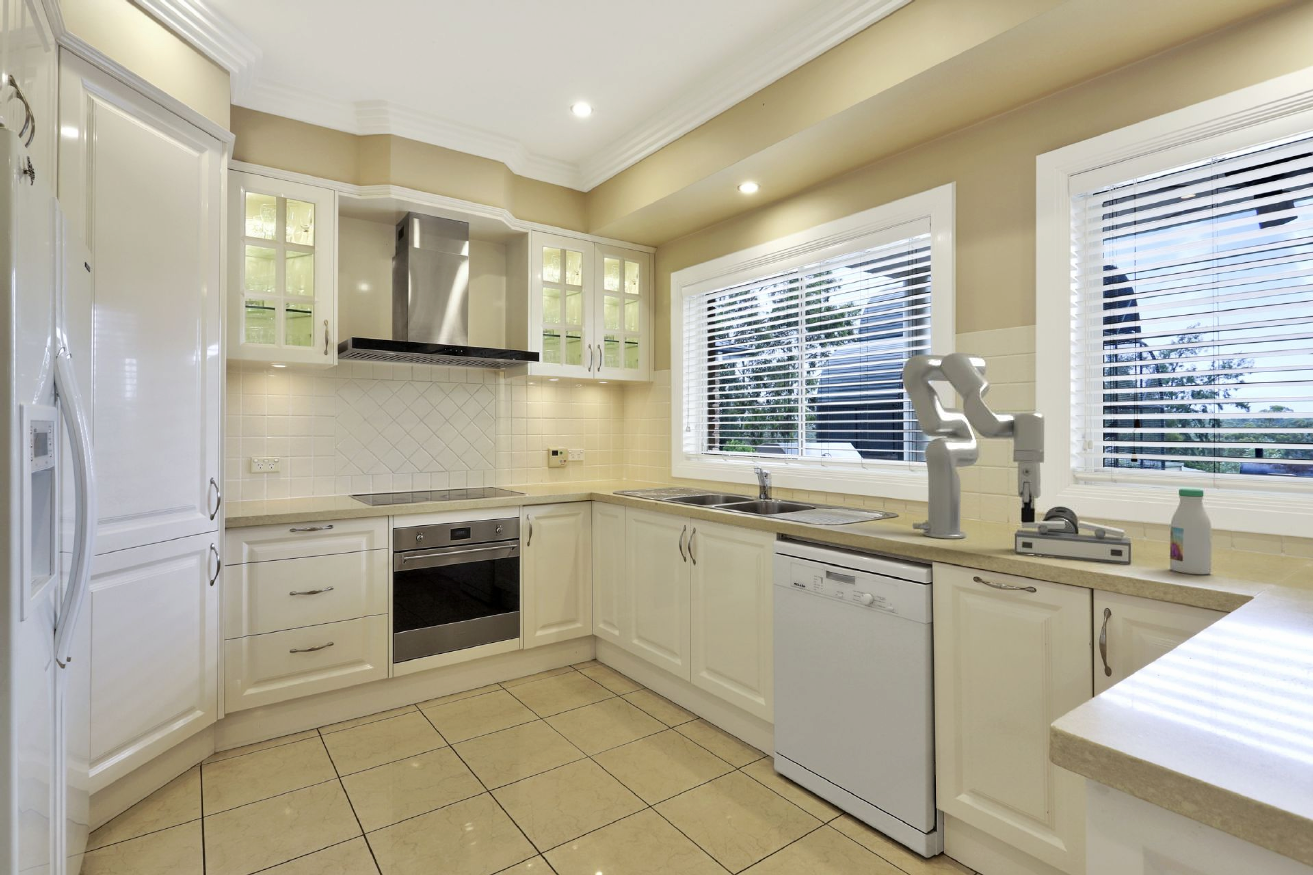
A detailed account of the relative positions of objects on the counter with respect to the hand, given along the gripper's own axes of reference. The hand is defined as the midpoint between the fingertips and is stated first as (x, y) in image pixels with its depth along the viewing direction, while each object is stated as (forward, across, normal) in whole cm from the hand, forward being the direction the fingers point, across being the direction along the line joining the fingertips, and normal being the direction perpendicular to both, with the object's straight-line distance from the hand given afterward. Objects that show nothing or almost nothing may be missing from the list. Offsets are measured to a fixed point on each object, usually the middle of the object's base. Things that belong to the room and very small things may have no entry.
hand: (1027, 522), depth 183 cm
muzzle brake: (+9, +19, -7) cm, 22 cm away
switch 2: (+2, 0, -17) cm, 17 cm away
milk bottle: (+8, -7, -35) cm, 37 cm away
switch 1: (+3, 0, -4) cm, 5 cm away
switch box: (+8, -1, -10) cm, 13 cm away
